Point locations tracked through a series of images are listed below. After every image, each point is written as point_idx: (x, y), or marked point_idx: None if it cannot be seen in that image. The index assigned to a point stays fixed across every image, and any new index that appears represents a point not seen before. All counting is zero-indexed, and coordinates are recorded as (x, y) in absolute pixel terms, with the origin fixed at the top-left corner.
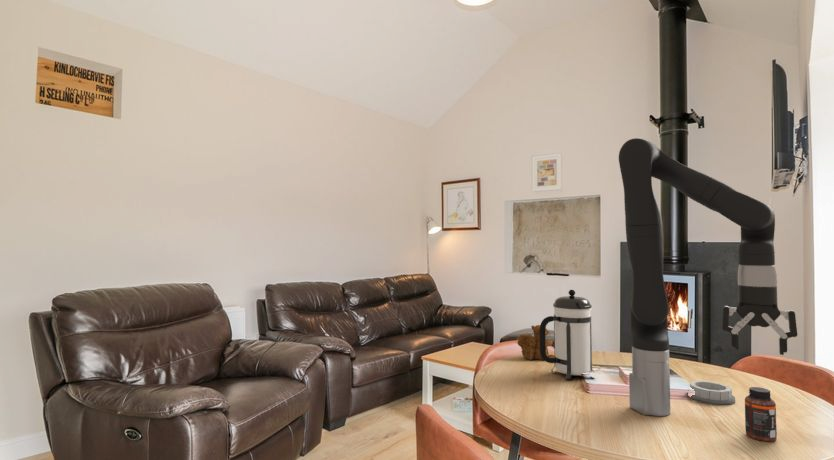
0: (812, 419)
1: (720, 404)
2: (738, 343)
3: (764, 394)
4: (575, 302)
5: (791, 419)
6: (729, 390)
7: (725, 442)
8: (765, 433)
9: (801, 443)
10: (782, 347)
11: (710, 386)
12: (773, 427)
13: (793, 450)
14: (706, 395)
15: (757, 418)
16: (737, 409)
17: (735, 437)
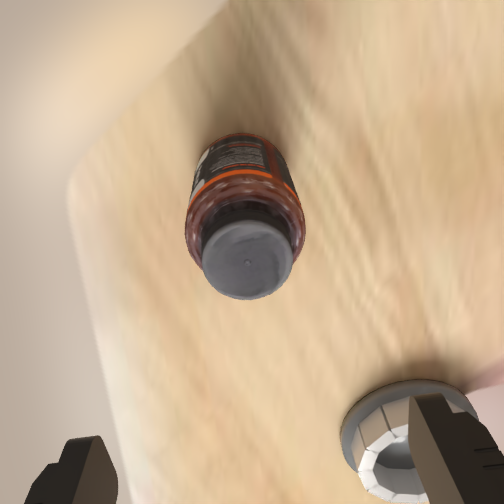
0: (147, 427)
1: (377, 390)
2: (435, 443)
3: (221, 223)
4: None
5: (191, 394)
6: (363, 457)
7: (341, 21)
8: (221, 143)
9: (132, 209)
10: (54, 496)
11: (416, 481)
12: (197, 172)
13: (139, 120)
14: None
15: (247, 154)
16: (329, 382)
17: (313, 109)
